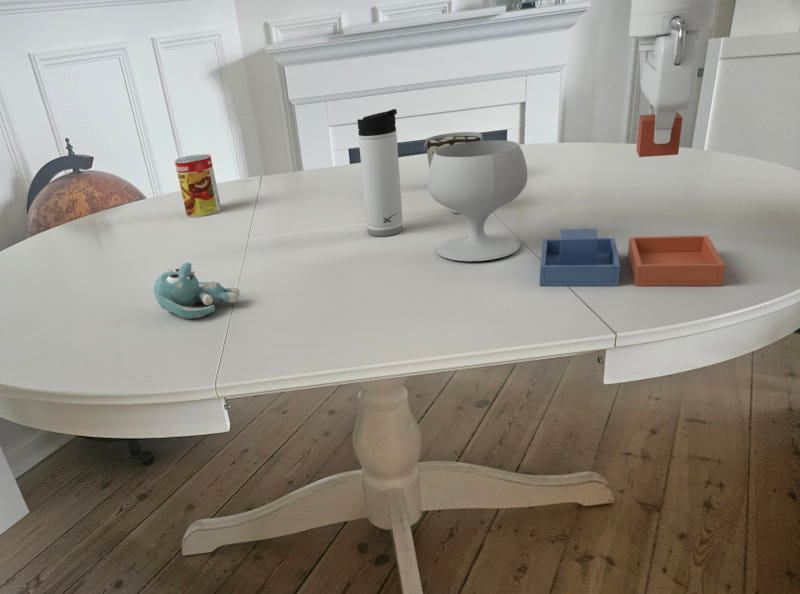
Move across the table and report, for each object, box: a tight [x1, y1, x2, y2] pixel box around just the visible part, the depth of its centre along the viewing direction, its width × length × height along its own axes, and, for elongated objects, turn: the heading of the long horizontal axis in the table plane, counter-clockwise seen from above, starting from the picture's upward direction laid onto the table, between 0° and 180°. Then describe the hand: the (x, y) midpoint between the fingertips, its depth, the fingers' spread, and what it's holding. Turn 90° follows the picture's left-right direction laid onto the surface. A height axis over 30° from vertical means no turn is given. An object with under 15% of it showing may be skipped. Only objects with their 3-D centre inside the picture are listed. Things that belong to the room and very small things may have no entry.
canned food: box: [174, 153, 222, 218], centre depth 140 cm, size 8×8×12 cm
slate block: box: [559, 228, 599, 265], centre depth 82 cm, size 4×4×4 cm
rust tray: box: [627, 234, 726, 287], centre depth 79 cm, size 9×11×3 cm
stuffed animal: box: [153, 261, 241, 320], centre depth 88 cm, size 11×7×12 cm
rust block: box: [635, 111, 683, 158], centre depth 80 cm, size 4×4×4 cm
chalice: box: [427, 139, 528, 262], centre depth 93 cm, size 14×14×15 cm
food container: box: [423, 131, 485, 168], centre depth 134 cm, size 12×6×10 cm, turn 80°
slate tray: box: [539, 237, 621, 287], centre depth 83 cm, size 9×11×3 cm
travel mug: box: [357, 108, 404, 238], centre depth 106 cm, size 6×7×20 cm
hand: (658, 138), depth 80 cm, fingers closed on rust block, 4 cm apart
